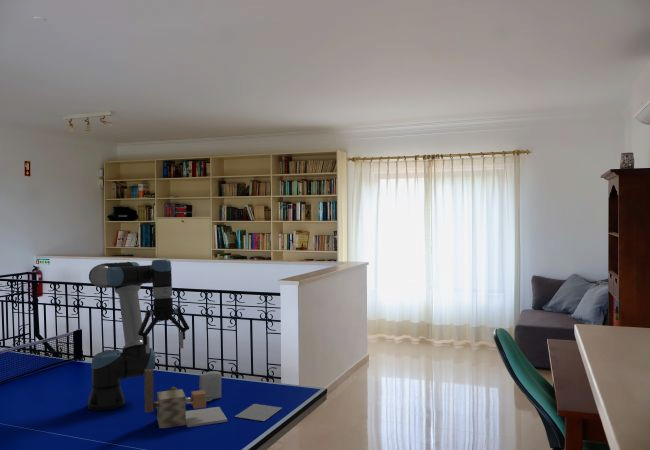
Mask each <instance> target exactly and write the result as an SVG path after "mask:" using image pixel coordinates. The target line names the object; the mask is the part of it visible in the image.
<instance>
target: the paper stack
mask: <svg viewBox="0 0 650 450" xmlns="http://www.w3.org/2000/svg"><path fill="white" fill-rule="evenodd" d="M281 409H283V407H282V406H281V407H280V406H273V405H265V404H259V403H253V404H251V405H250V406H248V407H247V408H245V409H244V410H243V411H241V412H239V413H237V414H236V415H235V416H234V417H236V418H240V419H249V420H253V421H262V422H265V421H266V420H268V419H269V418H271V417H272V416H274V415H275V414H276V413H277V412H279V411H280V410H281Z"/></svg>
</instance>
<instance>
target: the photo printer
mask: <svg viewBox="0 0 650 450" xmlns="http://www.w3.org/2000/svg"><path fill="white" fill-rule="evenodd" d="M198 385H199V387H198V389H199V390H198V391H200V390H204V391H205V393H206V395H211V397H212V400H216V399H221V398H222V374H221V372H220V371H217V370H216V371H215V370H211V371H210V370H209V371H206V372H204V373H202V374H200V375H199V384H198Z"/></svg>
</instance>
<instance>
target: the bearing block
mask: <svg viewBox="0 0 650 450" xmlns="http://www.w3.org/2000/svg"><path fill="white" fill-rule="evenodd" d="M186 398H187V396H186V394H185V392H184V390H183V388H181V389H180V388H179V389H178V390H171V391H165V390H164V391H157V392H156V401H159V407H158V408H156V413H157V414H156V416H157V417H156V421H157V424H158V427H159V429H160V428H161V429H166V428H167V429H168V428H174V427H179V426H187V425H186V411H187V409H186V407H187V406H186V405H187V404H186Z"/></svg>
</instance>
